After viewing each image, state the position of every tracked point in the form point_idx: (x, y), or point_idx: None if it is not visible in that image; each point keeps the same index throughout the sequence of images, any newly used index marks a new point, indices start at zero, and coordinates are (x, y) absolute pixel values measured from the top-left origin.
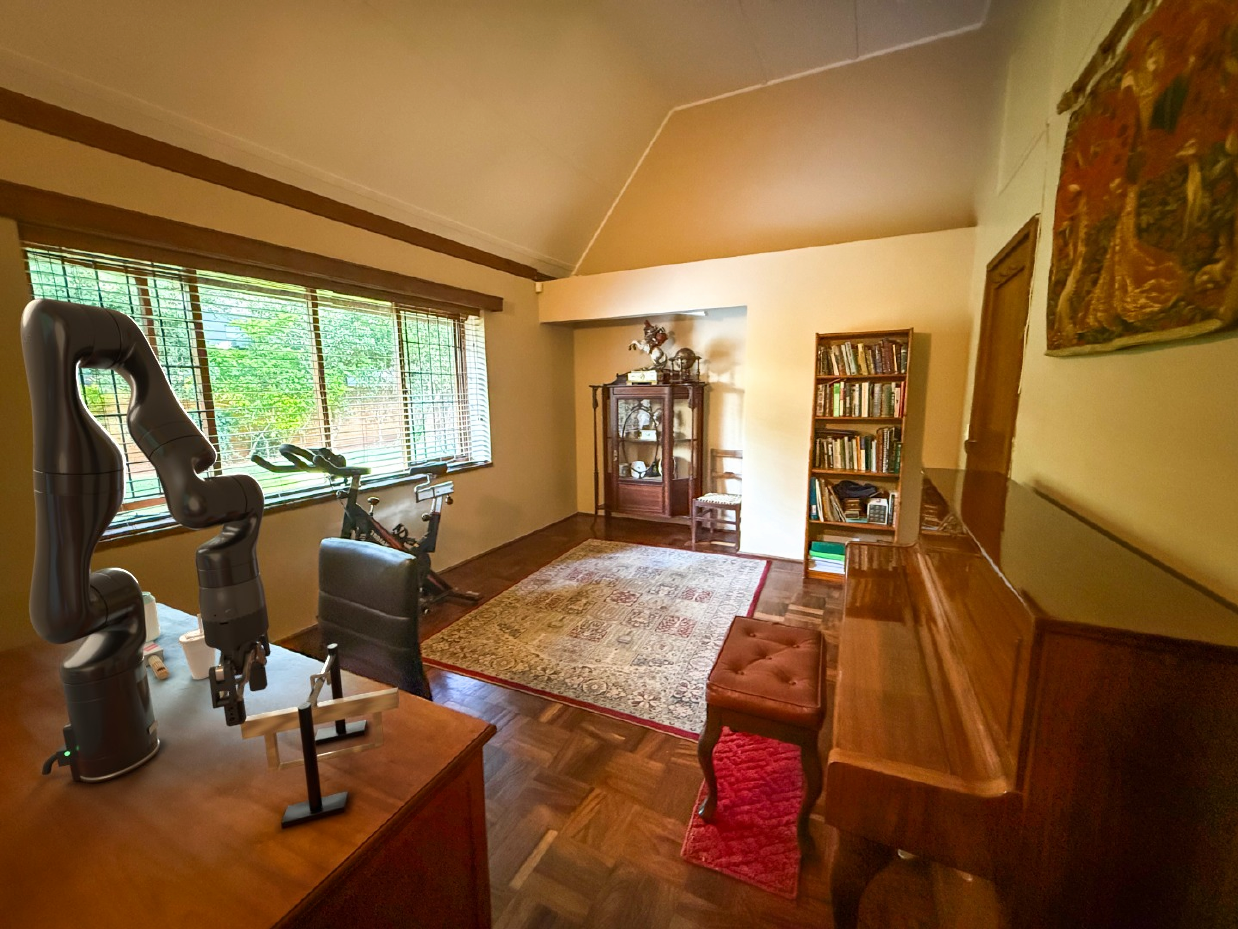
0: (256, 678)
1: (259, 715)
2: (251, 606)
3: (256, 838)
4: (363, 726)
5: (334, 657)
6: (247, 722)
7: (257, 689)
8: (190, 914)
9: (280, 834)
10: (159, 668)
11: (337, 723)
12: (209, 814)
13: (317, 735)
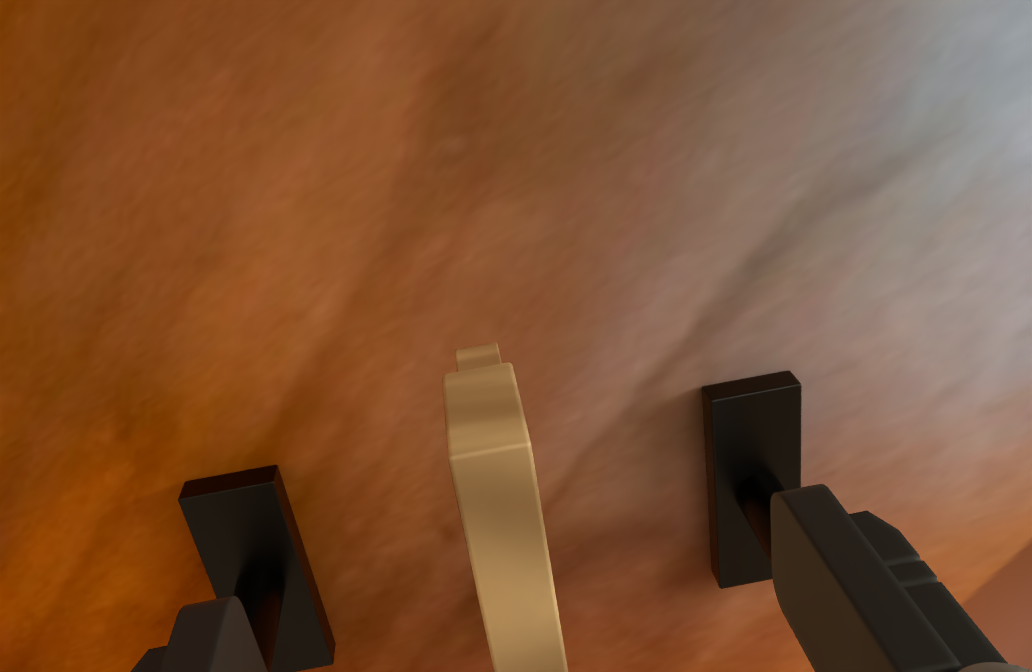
0: (836, 644)
1: (520, 554)
2: None
3: (141, 406)
4: (748, 579)
5: None
6: (458, 496)
7: (779, 541)
8: None
9: (159, 487)
10: None
11: (757, 526)
12: (298, 103)
13: (751, 401)
